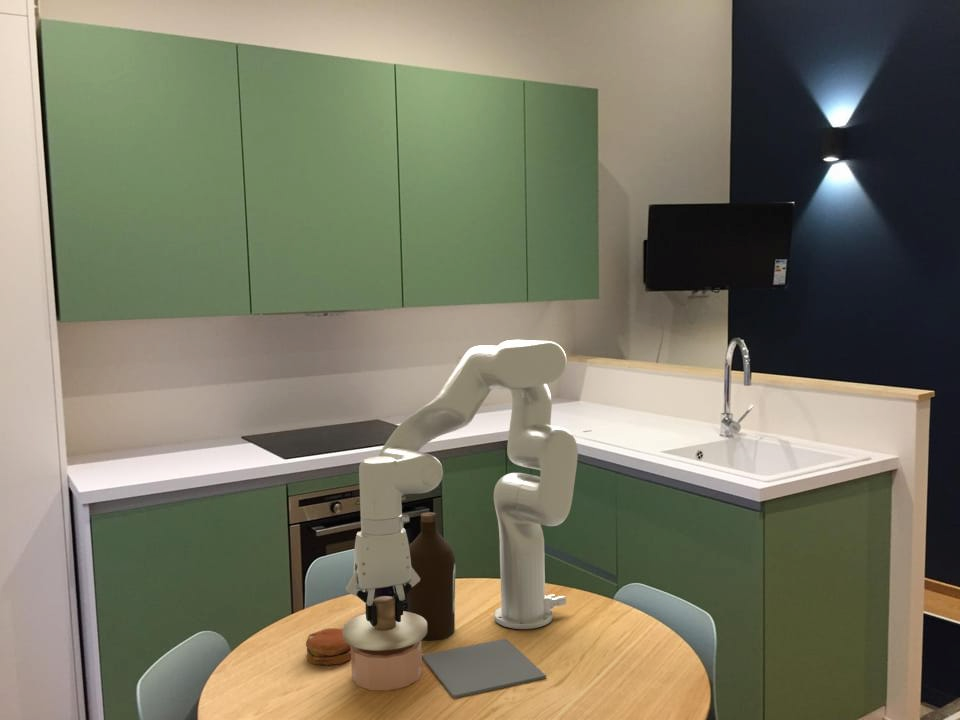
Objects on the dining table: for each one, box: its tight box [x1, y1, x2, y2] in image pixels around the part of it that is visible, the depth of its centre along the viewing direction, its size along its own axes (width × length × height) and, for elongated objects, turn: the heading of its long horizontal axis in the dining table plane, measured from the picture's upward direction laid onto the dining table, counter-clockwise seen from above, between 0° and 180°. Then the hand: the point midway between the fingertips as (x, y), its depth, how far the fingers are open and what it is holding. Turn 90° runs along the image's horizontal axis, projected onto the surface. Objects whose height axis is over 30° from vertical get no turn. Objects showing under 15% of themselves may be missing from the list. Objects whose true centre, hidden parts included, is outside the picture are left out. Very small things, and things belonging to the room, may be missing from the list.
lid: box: [342, 596, 427, 650], centre depth 155 cm, size 16×16×6 cm
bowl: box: [350, 640, 423, 692], centre depth 156 cm, size 13×13×6 cm
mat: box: [422, 638, 547, 699], centre depth 157 cm, size 18×18×1 cm
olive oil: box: [407, 511, 457, 641], centre depth 174 cm, size 11×11×25 cm
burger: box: [305, 627, 351, 666], centre depth 164 cm, size 10×9×5 cm
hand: (384, 620), depth 155 cm, fingers closed on lid, 4 cm apart
